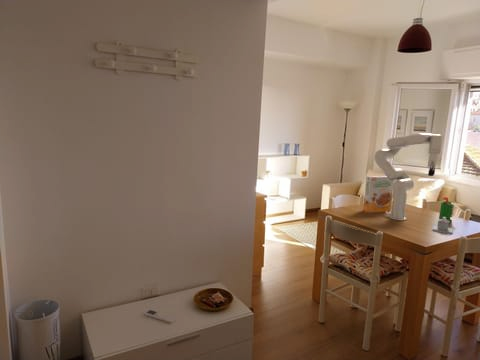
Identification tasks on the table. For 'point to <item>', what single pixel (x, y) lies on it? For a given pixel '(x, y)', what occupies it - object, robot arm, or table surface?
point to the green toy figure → (446, 210)
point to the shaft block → (442, 228)
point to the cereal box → (378, 194)
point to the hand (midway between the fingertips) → (431, 175)
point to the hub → (443, 224)
